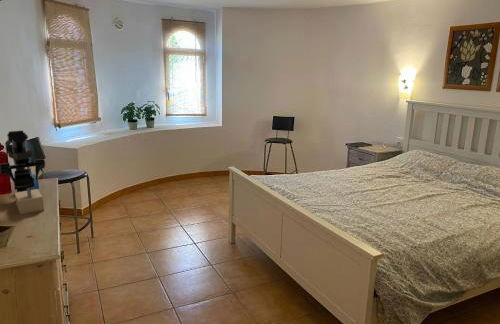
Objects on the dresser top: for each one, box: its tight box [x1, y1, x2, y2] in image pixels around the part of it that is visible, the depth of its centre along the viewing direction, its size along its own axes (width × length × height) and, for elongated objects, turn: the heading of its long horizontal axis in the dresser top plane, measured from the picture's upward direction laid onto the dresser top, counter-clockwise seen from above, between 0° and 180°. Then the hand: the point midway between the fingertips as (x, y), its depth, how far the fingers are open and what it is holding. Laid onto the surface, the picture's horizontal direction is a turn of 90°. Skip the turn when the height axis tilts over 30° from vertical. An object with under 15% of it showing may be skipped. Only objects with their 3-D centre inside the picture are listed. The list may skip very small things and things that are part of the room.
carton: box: [14, 194, 45, 216], centre depth 183 cm, size 14×10×6 cm
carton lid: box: [14, 188, 44, 202], centre depth 181 cm, size 14×10×5 cm
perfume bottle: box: [26, 167, 40, 190], centre depth 210 cm, size 6×6×12 cm
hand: (26, 181), depth 180 cm, fingers open, 9 cm apart
